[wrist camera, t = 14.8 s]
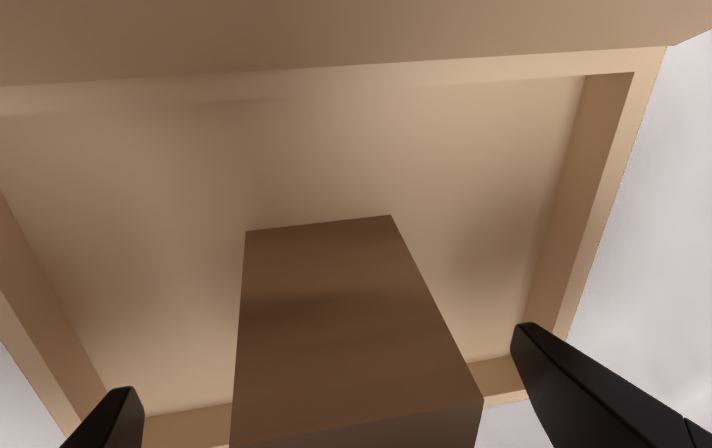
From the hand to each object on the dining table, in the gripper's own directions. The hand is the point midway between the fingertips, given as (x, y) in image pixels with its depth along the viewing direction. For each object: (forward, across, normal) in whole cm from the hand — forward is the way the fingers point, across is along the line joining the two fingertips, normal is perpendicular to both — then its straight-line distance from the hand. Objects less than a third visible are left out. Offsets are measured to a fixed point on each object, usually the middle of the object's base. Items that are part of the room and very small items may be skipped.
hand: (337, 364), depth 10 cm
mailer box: (+4, 0, 0) cm, 4 cm away
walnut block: (+3, 0, 0) cm, 3 cm away
